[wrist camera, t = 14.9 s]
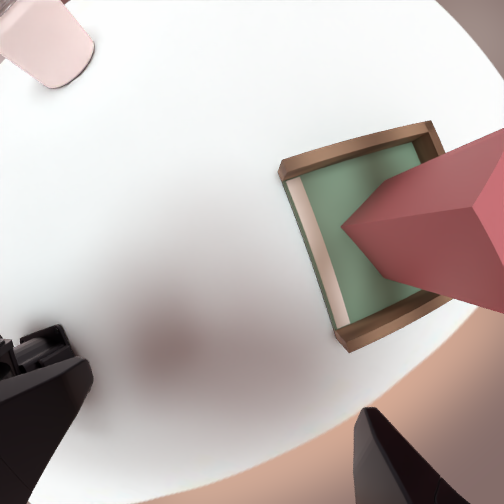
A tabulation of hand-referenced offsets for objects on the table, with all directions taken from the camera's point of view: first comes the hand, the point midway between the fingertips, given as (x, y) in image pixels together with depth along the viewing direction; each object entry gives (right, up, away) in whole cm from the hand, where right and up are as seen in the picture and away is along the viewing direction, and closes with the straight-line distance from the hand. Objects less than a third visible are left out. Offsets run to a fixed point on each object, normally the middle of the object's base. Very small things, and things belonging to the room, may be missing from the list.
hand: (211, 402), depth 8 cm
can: (-17, +23, +11) cm, 31 cm away
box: (+11, +6, +12) cm, 17 cm away
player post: (+11, +6, +11) cm, 17 cm away
